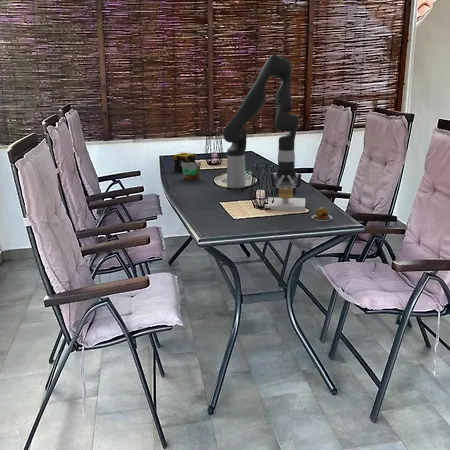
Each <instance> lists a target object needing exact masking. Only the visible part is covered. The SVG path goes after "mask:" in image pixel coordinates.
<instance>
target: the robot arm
mask: <svg viewBox="0 0 450 450" xmlns="http://www.w3.org/2000/svg"><path fill="white" fill-rule="evenodd" d="M291 66H292V65H291V62H290V61H289V59H287V58H285V57H282V56H280V55H276V54H271V55H270V56H268V58H267V59H266V61H265V63H264V64H263V66H262V68H261V70H260V72H259V74H258V76H257V79H256V80H255V81H254V83H253V86H251V89H250V90H249V92H248V93H247V95H246V96H245V97H244V99H243V102H242V103H241V105H240V106H239V107H238V109H237V111H236V113H235V114H234V116H233V117H232V118H231V120H230V121H229V122H228V123H227V125H226V126H225V128H224V130H223V133H222V134H223V139H224V141H225V142H227V143H231V145H230V147H228V148H227V151H226V156H227V157H226V159H227V161H226V162H227V164H226V165H227V169H226V188H229V189H242V188H243V189H244V188H245V187H246V157H245V156H246V155H245V154H246V153H245V152H246V150H247V149H246V148H247V134H248V133H247V130H246V127H245V125H246V124H247V123H248V122H249V121H250V120H252V119H253V118H254V117H255V116H256V115H257V114H259V112H260V111H261V109H262V107H263V106H264V105H265V103H266V100H267V89H266V87H267V86H266V85H267V83H268V81H269V79H270V78H271V76H272V77H274V78H277V79H279V80H280V86H279V87H278V89H277V91H276V93H275V96H274V97H275V107H276V115H275V119H274V128H275V129H276V130H277V131H278V132H279V131H280V132H287V131H289V132H288V134H285V135H282V136H279V137H278V150H277V151H278V152H277V153H278V154H277V172H271V174H270V177H271V187H274V188H275V194H276V195H277V197H279V187H280V185H281V184H282V183H290V185H291V187H293V197H295V195H297V188H300V187H301V180H302V173H301V172H299V173H297V172H296V171H295V167H296V166H295V165H296V161H295V159H296V153H295V140H296V134H297V131H298V128H299V124H300V119H299V117H298V115H297V114H295V113H293V114H291V113H292V111H293V102H292V95H291V83H292V81H291V80H292V78H291V77H292V67H291ZM276 177H278V181H277V183H275V182H276V180H275V178H276ZM295 177H296V179H297V183H296V182H295V181H294V178H295Z"/></svg>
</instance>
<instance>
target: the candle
mask: <svg viewBox="0 0 450 450" xmlns="http://www.w3.org/2000/svg"><path fill="white" fill-rule="evenodd" d="M182 161H183V163H190V162H192V163H197V162H196V153H195V152H194V153H193V152H178V153H176V154H174V155H173V164H174V165H173V169H174V170H173V171H175V172H183V169H182V166H181V163H182Z"/></svg>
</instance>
